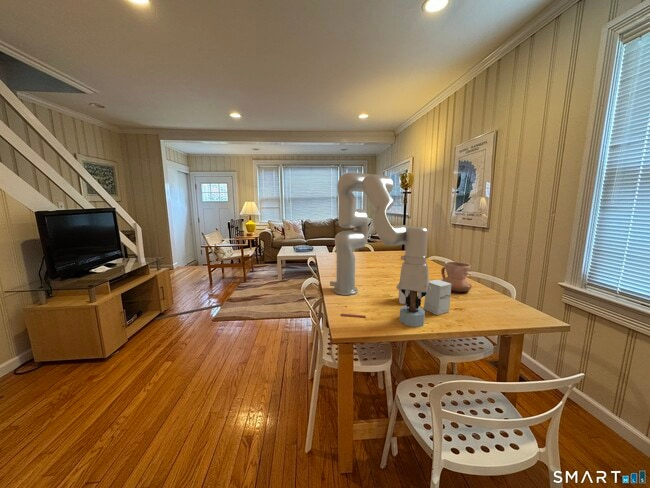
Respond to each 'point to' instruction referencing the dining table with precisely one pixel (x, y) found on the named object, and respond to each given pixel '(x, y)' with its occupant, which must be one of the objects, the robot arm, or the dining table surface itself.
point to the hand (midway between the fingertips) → (412, 306)
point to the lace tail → (353, 315)
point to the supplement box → (438, 297)
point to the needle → (413, 301)
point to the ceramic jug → (457, 275)
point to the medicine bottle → (402, 297)
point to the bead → (412, 317)
